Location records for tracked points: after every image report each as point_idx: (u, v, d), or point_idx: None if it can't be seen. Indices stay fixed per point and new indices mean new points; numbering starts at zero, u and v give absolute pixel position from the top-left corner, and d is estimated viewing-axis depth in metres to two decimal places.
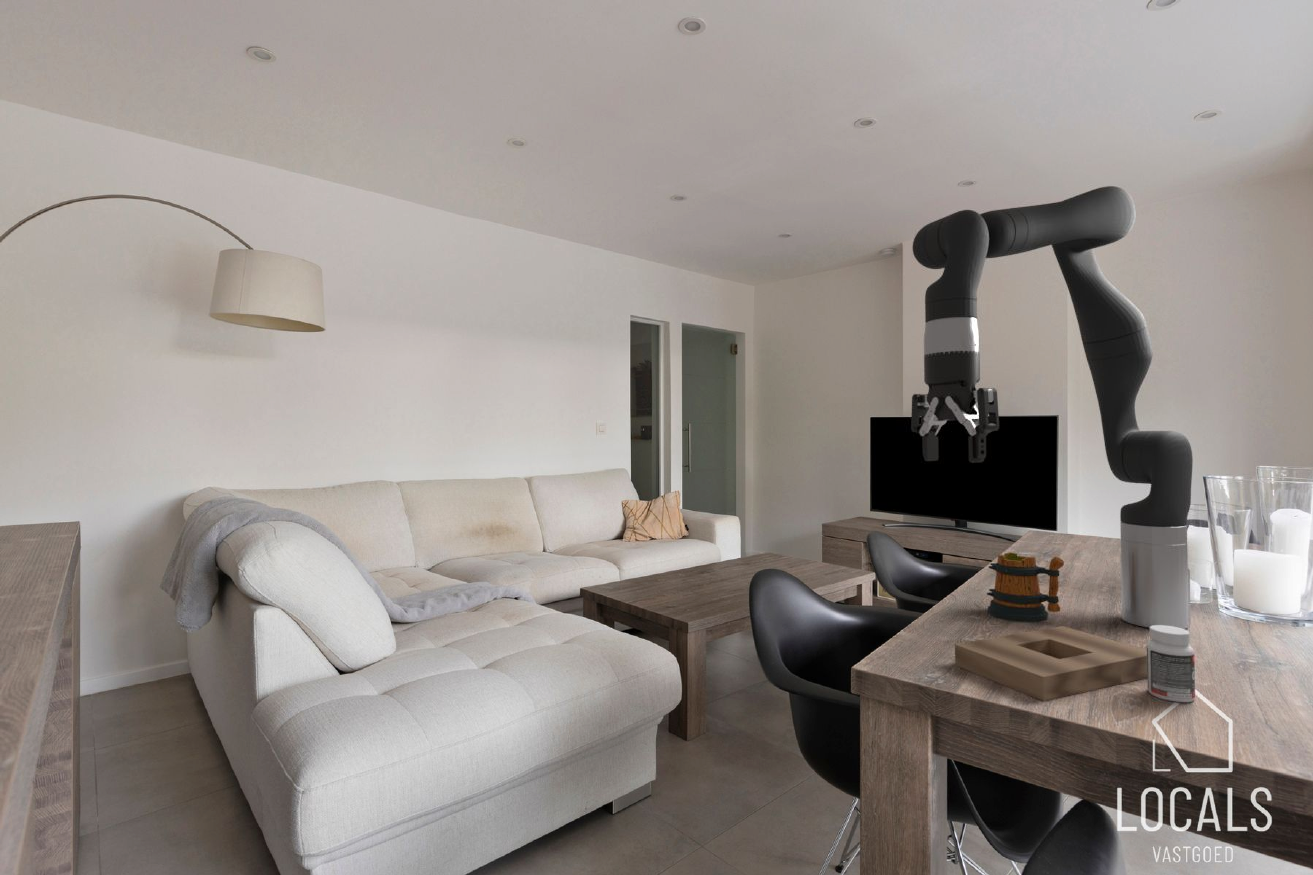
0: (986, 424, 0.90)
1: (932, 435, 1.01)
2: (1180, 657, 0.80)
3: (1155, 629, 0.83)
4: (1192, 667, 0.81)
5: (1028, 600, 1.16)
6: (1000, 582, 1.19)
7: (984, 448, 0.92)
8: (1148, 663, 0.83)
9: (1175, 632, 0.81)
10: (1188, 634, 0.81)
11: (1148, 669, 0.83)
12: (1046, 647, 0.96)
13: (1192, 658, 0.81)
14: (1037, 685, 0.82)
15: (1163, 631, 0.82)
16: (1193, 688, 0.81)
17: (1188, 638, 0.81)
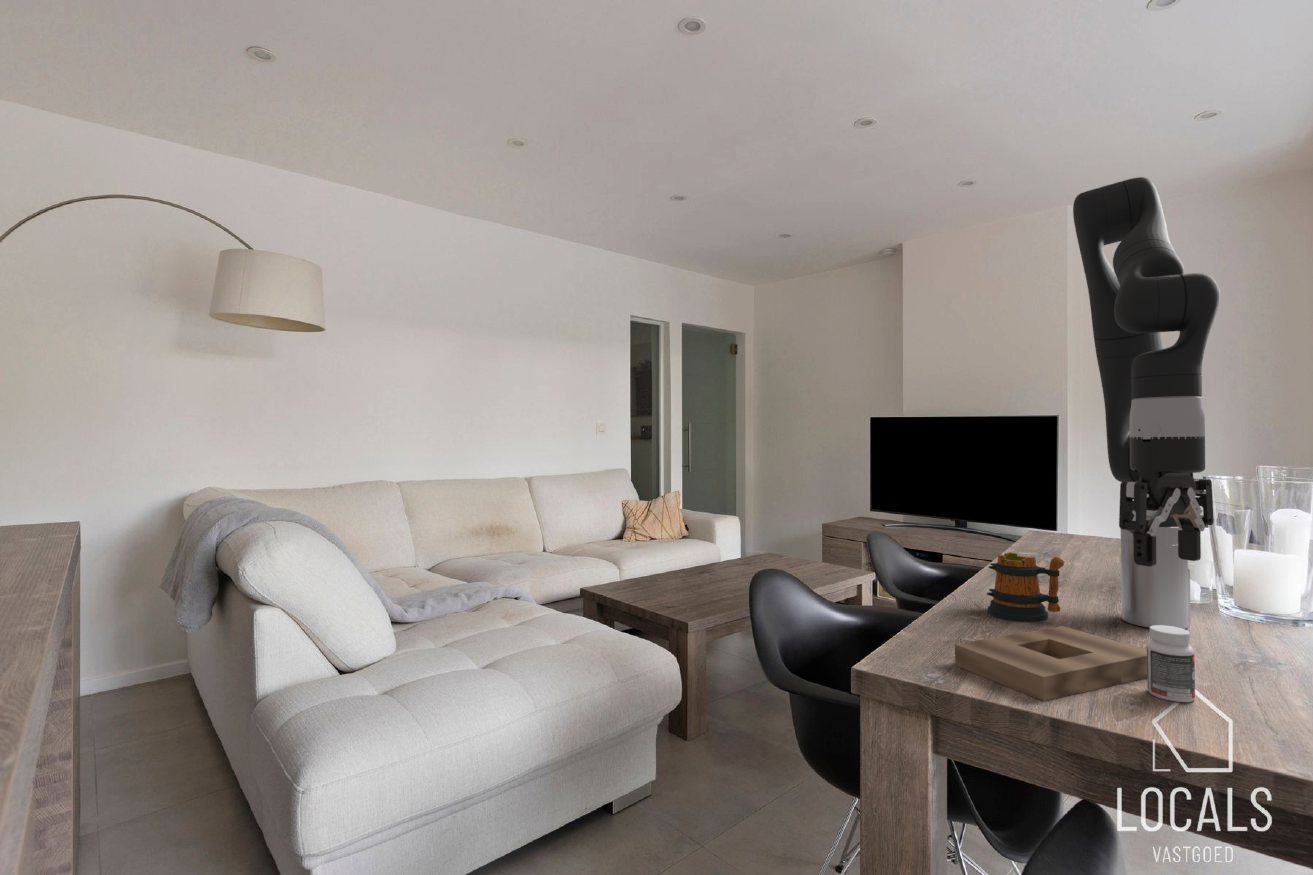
0: None
1: None
2: (1180, 657, 0.80)
3: (1155, 629, 0.83)
4: (1192, 667, 0.81)
5: (1028, 600, 1.16)
6: (1000, 582, 1.19)
7: None
8: (1148, 663, 0.83)
9: (1175, 632, 0.81)
10: (1188, 634, 0.81)
11: (1148, 669, 0.83)
12: (1046, 647, 0.96)
13: (1192, 658, 0.81)
14: (1037, 685, 0.82)
15: (1163, 631, 0.82)
16: (1193, 688, 0.81)
17: (1188, 638, 0.81)
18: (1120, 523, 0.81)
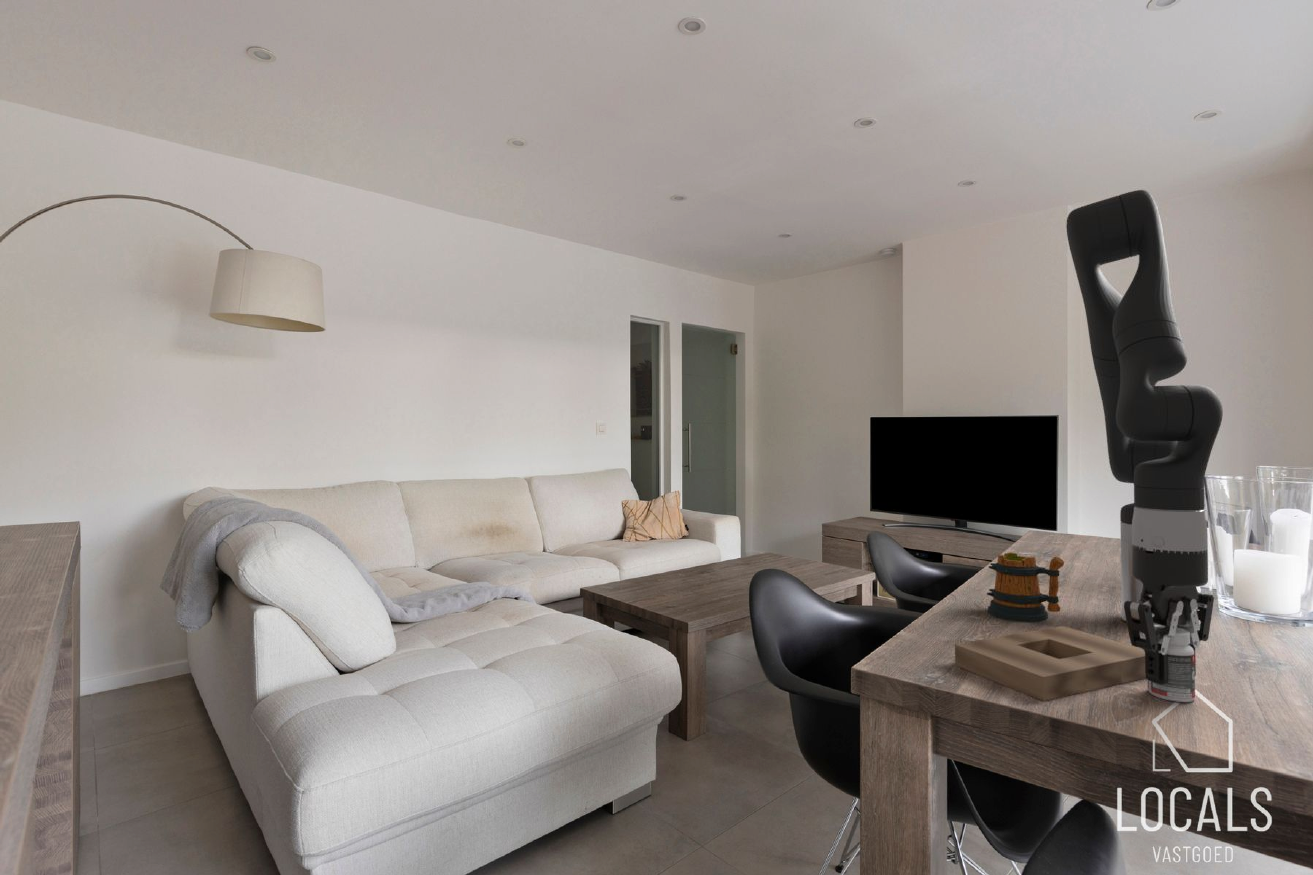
0: None
1: None
2: (1180, 656, 0.80)
3: None
4: (1192, 667, 0.81)
5: (1028, 600, 1.16)
6: (1000, 582, 1.19)
7: None
8: None
9: None
10: (1188, 634, 0.81)
11: None
12: (1046, 647, 0.96)
13: (1192, 658, 0.81)
14: (1037, 685, 0.82)
15: None
16: (1193, 688, 0.81)
17: (1188, 638, 0.81)
18: (1132, 642, 0.82)
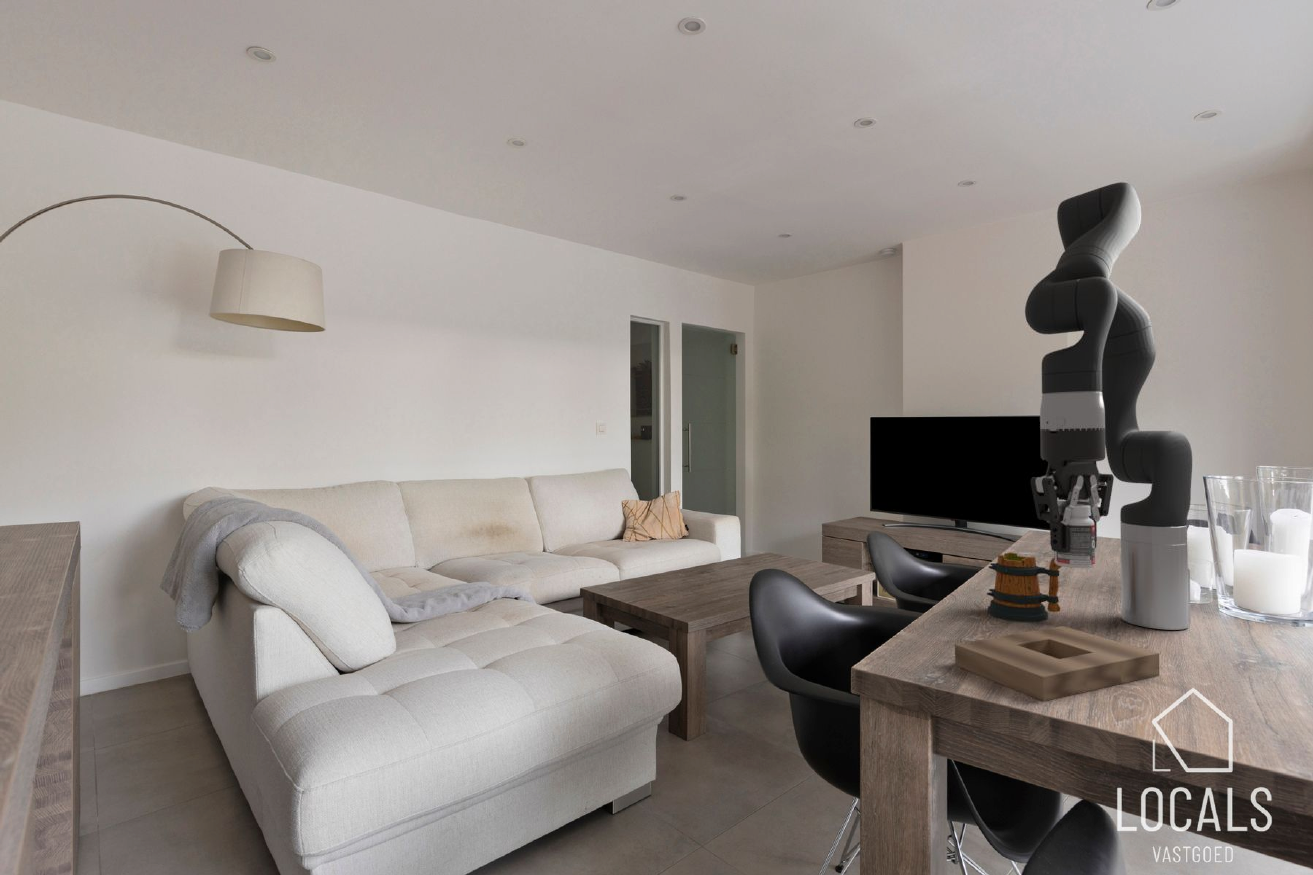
0: (1107, 509, 0.91)
1: None
2: (1081, 526, 0.88)
3: None
4: (1092, 536, 0.88)
5: (1028, 600, 1.16)
6: (1000, 582, 1.19)
7: None
8: None
9: (1077, 506, 0.89)
10: (1088, 507, 0.89)
11: None
12: (1046, 647, 0.96)
13: (1092, 528, 0.88)
14: (1037, 685, 0.82)
15: None
16: (1093, 555, 0.88)
17: (1088, 510, 0.88)
18: (1038, 515, 0.89)
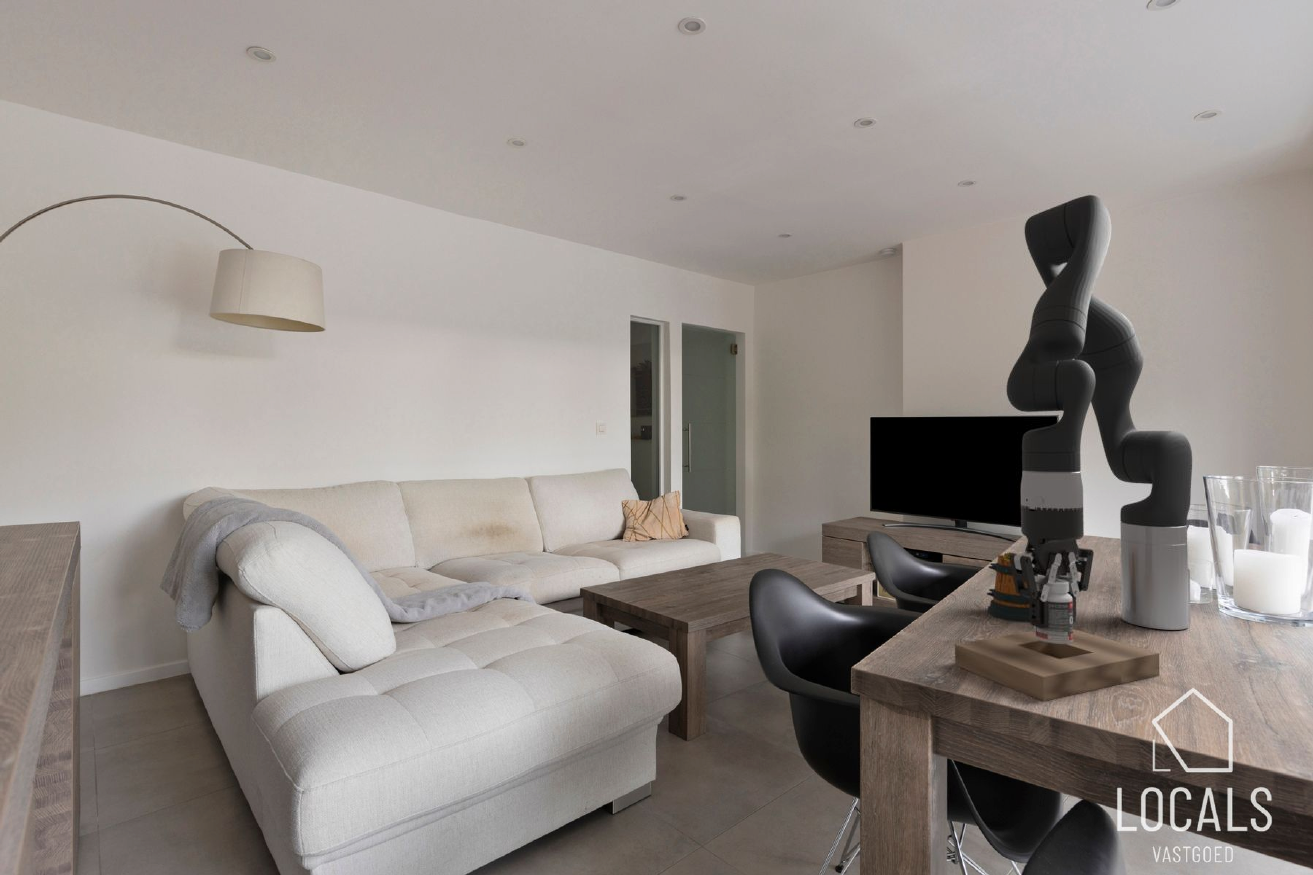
0: (1087, 584, 0.93)
1: None
2: (1058, 603, 0.90)
3: None
4: (1069, 612, 0.90)
5: (1028, 600, 1.16)
6: (1000, 582, 1.19)
7: None
8: None
9: (1055, 582, 0.91)
10: (1067, 583, 0.91)
11: None
12: (1046, 647, 0.96)
13: (1069, 604, 0.90)
14: (1037, 685, 0.82)
15: None
16: (1070, 631, 0.90)
17: (1066, 587, 0.90)
18: (1017, 591, 0.91)
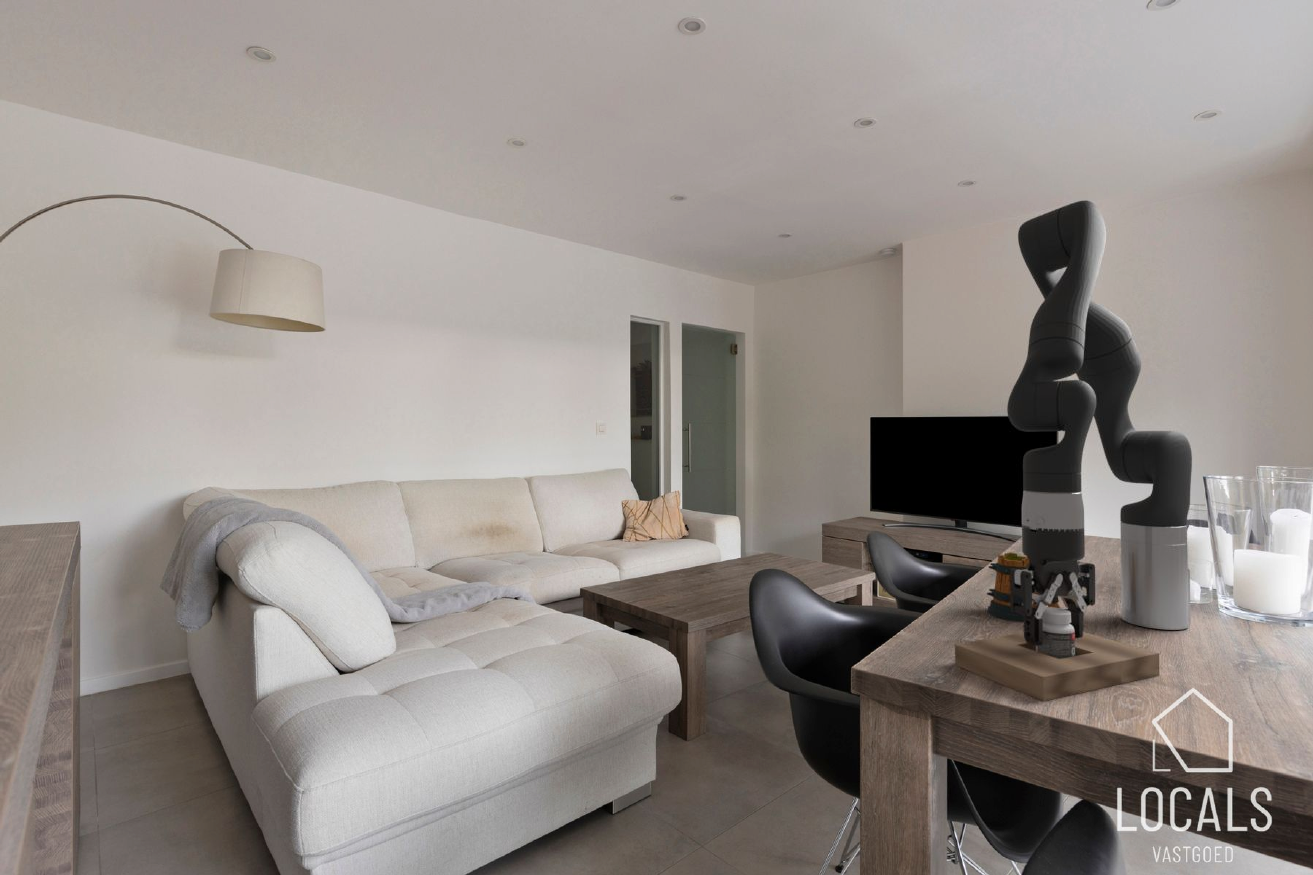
0: (1094, 598, 0.93)
1: None
2: (1061, 634, 0.90)
3: None
4: (1071, 644, 0.90)
5: None
6: (1000, 582, 1.19)
7: None
8: None
9: (1058, 612, 0.91)
10: (1069, 614, 0.91)
11: (1036, 646, 0.93)
12: None
13: (1072, 636, 0.90)
14: (1037, 685, 0.82)
15: (1047, 612, 0.91)
16: None
17: (1068, 618, 0.90)
18: (1011, 607, 0.91)
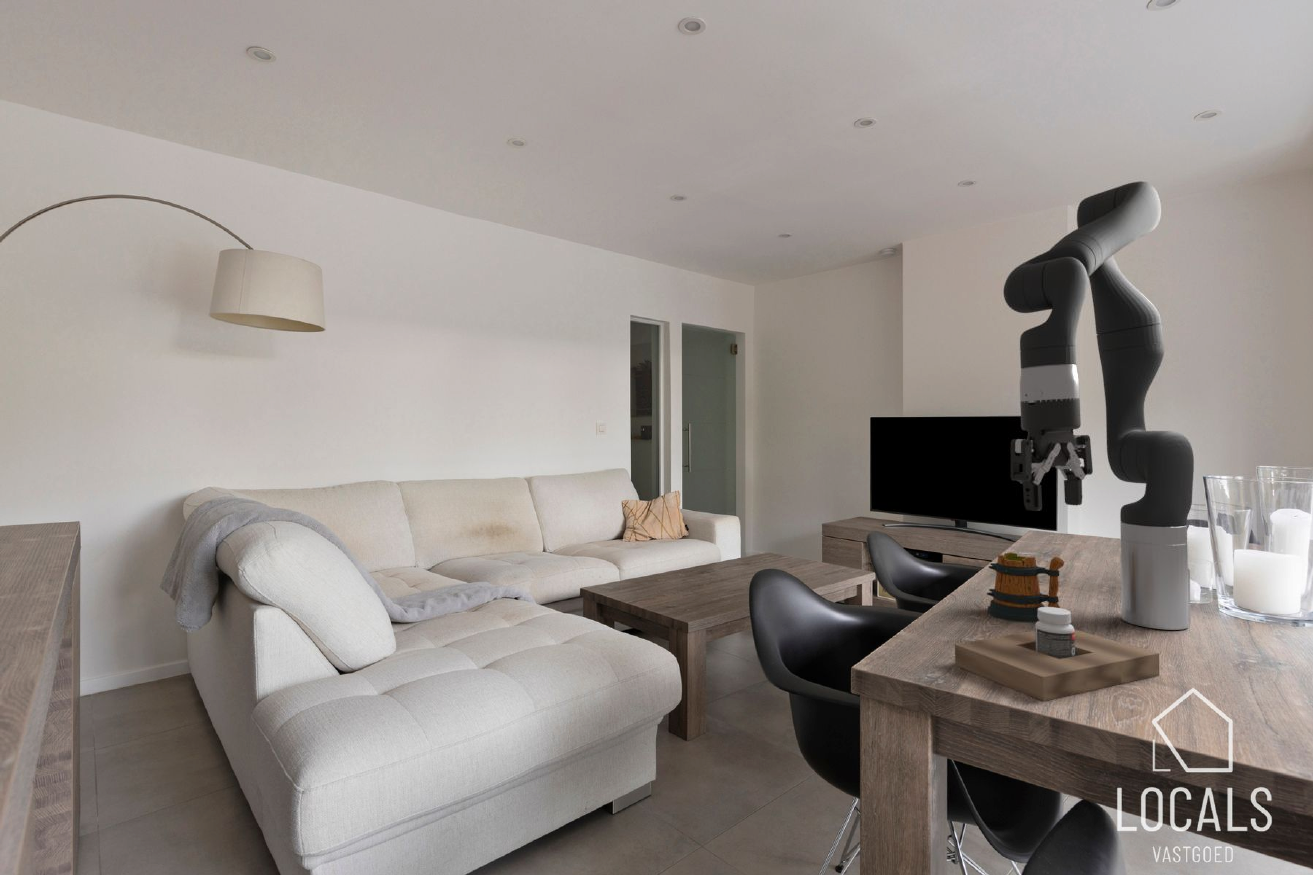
0: (1091, 468, 0.98)
1: None
2: (1061, 634, 0.90)
3: (1041, 610, 0.92)
4: (1071, 644, 0.90)
5: (1028, 600, 1.16)
6: (1000, 582, 1.19)
7: None
8: (1036, 641, 0.93)
9: (1057, 612, 0.91)
10: (1069, 614, 0.91)
11: (1036, 646, 0.93)
12: None
13: (1071, 636, 0.90)
14: (1037, 685, 0.82)
15: (1047, 612, 0.91)
16: None
17: (1068, 618, 0.90)
18: (1011, 475, 0.95)
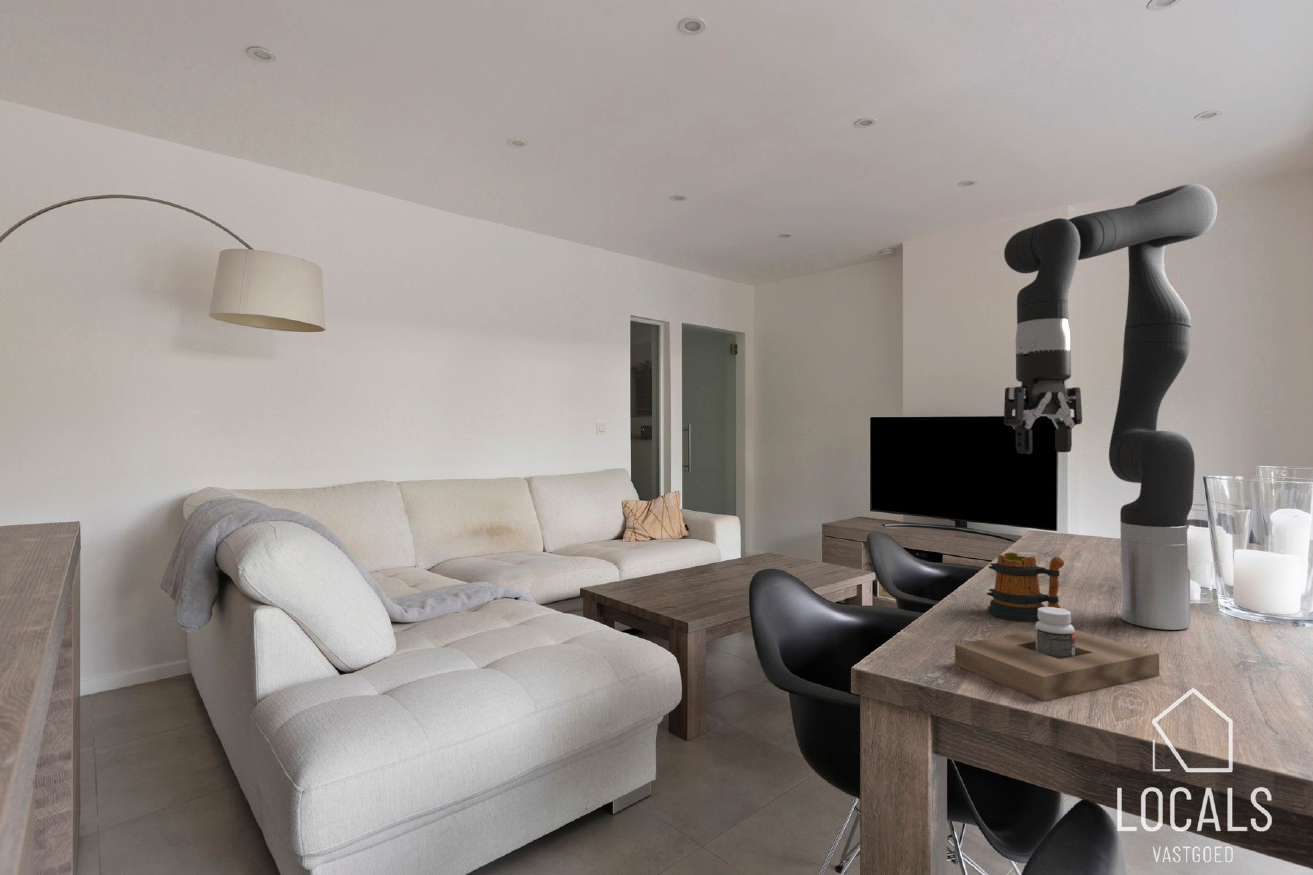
0: (1081, 418, 1.05)
1: None
2: (1061, 634, 0.90)
3: (1041, 610, 0.92)
4: (1071, 644, 0.90)
5: (1028, 600, 1.16)
6: (1000, 582, 1.19)
7: None
8: (1036, 641, 0.93)
9: (1058, 613, 0.91)
10: (1069, 614, 0.91)
11: (1036, 646, 0.93)
12: None
13: (1072, 636, 0.90)
14: (1037, 685, 0.82)
15: (1047, 612, 0.91)
16: None
17: (1069, 618, 0.90)
18: (1004, 420, 1.02)
